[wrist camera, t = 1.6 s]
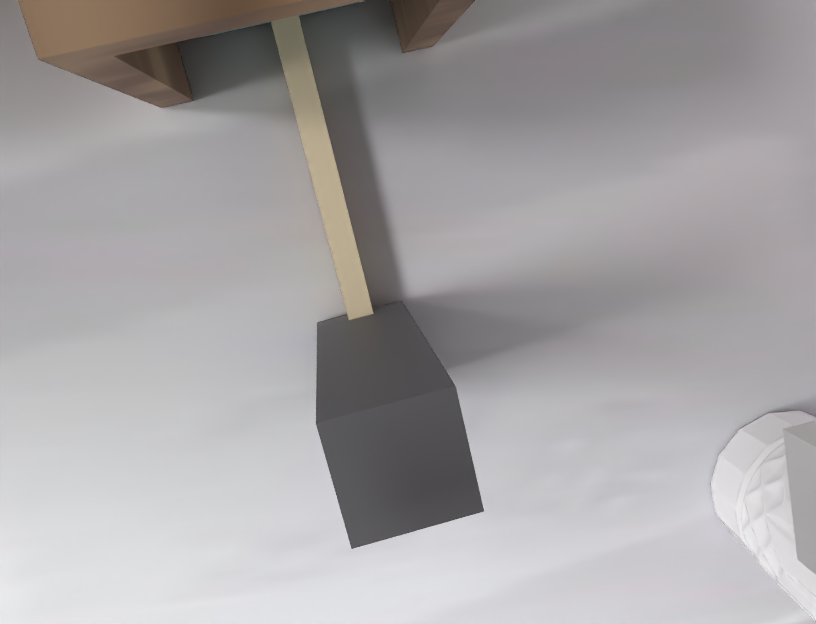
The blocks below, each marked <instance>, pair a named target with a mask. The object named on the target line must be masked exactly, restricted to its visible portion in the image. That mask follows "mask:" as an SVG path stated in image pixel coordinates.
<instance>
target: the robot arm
mask: <svg viewBox="0 0 816 624" xmlns="http://www.w3.org/2000/svg"><path fill="white" fill-rule="evenodd" d="M783 435H784V444H785V453H786V462H787V471H788V480H789V490H790V499H791V508H792V517H793V526H794V535H795V544H796V553H797V560H798V561H800V562H801V563H802V564H803V565H804V566H806V567H807V568H808V569H809V570H810V571H812V572H813V573H814V574H815V575H816V420H813V421H810V422H806V423H803V424H799V425H795V426H792V427H788V428H785V429H783Z"/></svg>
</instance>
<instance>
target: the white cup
mask: <svg viewBox="0 0 816 624" xmlns="http://www.w3.org/2000/svg"><path fill="white" fill-rule="evenodd" d="M813 420H816V417H814V416H812V415H809V414H807V413H805V412H802V411H799V410H797V411H786V412H775V413H768V414H766V415H764V416H762V417H760V418H758V419H757V420H755V421H753V422H751V423H750V424H748V425H746V426H744V427H742V428H741V429H739V430H738V432H737V433H736V434H735V435H734V437H733V438H732V439H731V440H730V442H729V443H728V444H727V445H726V447H725V448H724V449H723V450H722V452H721V453H720V454H719V456H718V460H717V463H716V467H715V470H714V474H713V477H712V481H711V491H712V497H713V503H714V508H715V513H716V515H717V516H718V517H719V519H720V520H721V521H722V522H723V523H724V525H725V526H726V527H727V528H728V529H729V531H730V532H731V533H732V534H733V535H734V536H735V537H736V538H737V539H738V540H739V541H740V542H741V543H742V544H743V545H744V546H745V547H746V548H747V549H748V550H749V551H750V552H751V553H752V554H753V556H754V558H755V560H756V561H757V562H758V563H759V564H760V565H761V566H762V567H763V568H764V569H765V570H766V571H767V572H768V573H769V574H770V575H771V576H772V577H773V579H774V580H775V581H776V582H777V583H778V584H779V585H780V586H781V587H782V589H783V590H784V591H785V592H786V593H787V594H788V595H789V596H790V597H791V598H792V599H793V600H794V601H795V602H796V603H797V604H798V605H799V606H800V607H801V608H802V609H803V610H804V611H805V612H806V613H807V614H808V615H809V616H810V617H811V618H812V619H813V620H814V621H815V622H816V575H815V574H814V573H813V572H812V571H810V570H809V569H808V568H807V567H806V566H804V565H803V564H802V563H801V562H800V561H798V560H797V553H796V544H795V535H794V526H793V517H792V508H791V499H790V490H789V480H788V471H787V462H786V453H785V444H784V435H783V429H785V428H788V427H792V426H795V425H799V424H803V423H806V422H810V421H813Z"/></svg>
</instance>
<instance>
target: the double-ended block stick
mask: <svg viewBox="0 0 816 624" xmlns="http://www.w3.org/2000/svg"><path fill="white" fill-rule="evenodd" d="M360 2H364V1H360ZM356 3H359V2H356ZM351 4H355V3H351ZM347 5H350V4H347ZM342 6H346V5H342ZM338 7H341V6H338ZM333 8H337V7H333ZM329 9H332V8H329ZM324 10H327V9H324ZM320 11H323V10H320ZM315 12H318V11H315ZM310 13H314V12H310ZM306 14H309V13H306ZM301 15H305V14H301ZM299 16H300V15H297V16H292V17H288V18H283V19H279V20H274V21H270V22H271V25H272V29H273V33H274V36H275V40H276V44H277V48H278V52H279V56H280V59H281V63H282V67H283V71H284V75H285V79H286V82H287V86H288V90H289V94H290V98H291V101H292V105H293V109H294V113H295V117H296V121H297V124H298V128H299V132H300V136H301V140H302V144H303V147H304V151H305V155H306V159H307V163H308V166H309V170H310V174H311V178H312V182H313V186H314V189H315V193H316V197H317V201H318V205H319V209H320V212H321V216H322V220H323V224H324V228H325V231H326V235H327V239H328V243H329V247H330V251H331V254H332V258H333V262H334V266H335V270H336V274H337V277H338V281H339V285H340V289H341V293H342V296H343V300H344V304H345V308H346V312H347V315H345V316H341V317H337V318H333V319H329V320H325V321H321V322H318V323H317V387H316V425H317V428H318V432H319V435H320V439H321V443H322V446H323V450H324V453H325V457H326V460H327V464H328V467H329V471H330V474H331V478H332V481H333V485H334V488H335V492H336V495H337V499H338V502H339V506H340V509H341V513H342V516H343V520H344V523H345V527H346V531H347V534H348V538H349V541H350V545H351V548H352V549H353V548H356V547H360V546H363V545H367V544H370V543H374V542H378V541H381V540H385V539H388V538H392V537H395V536H399V535H402V534H406V533H409V532H413V531H416V530H420V529H423V528H427V527H430V526H434V525H437V524H441V523H444V522H448V521H451V520H455V519H459V518H462V517H466V516H469V515H473V514H476V513H480V512H483V511H484V509H483V505H482V500H481V496H480V492H479V487H478V483H477V479H476V474H475V470H474V465H473V461H472V457H471V452H470V448H469V443H468V439H467V435H466V430H465V426H464V422H463V417H462V413H461V408H460V404H459V400H458V395H457V391H456V386H455V385H454V383H453V381H452V380H451V378H450V377H449V375H448V373H447V372H446V370H445V369H444V367H443V366H442V364H441V362H440V361H439V359H438V358H437V356H436V354H435V353H434V351H433V350H432V348H431V347H430V345H429V343H428V342H427V340H426V339H425V337H424V335H423V334H422V332H421V331H420V329H419V327H418V326H417V324H416V323H415V321H414V320H413V318H412V316H411V315H410V313H409V312H408V310H407V308H406V307H405V305H404V304H403V302H402V301H399V302H395V303H392V304H388V305H384V306H380V307H376V308H372V305H371V301H370V297H369V293H368V289H367V285H366V281H365V277H364V273H363V269H362V265H361V261H360V257H359V253H358V249H357V245H356V241H355V237H354V233H353V230H352V226H351V222H350V218H349V214H348V210H347V206H346V202H345V198H344V194H343V190H342V186H341V182H340V178H339V174H338V170H337V166H336V162H335V158H334V154H333V150H332V146H331V142H330V138H329V134H328V130H327V126H326V122H325V118H324V114H323V110H322V106H321V102H320V98H319V94H318V91H317V87H316V83H315V79H314V75H313V71H312V67H311V63H310V59H309V55H308V51H307V47H306V43H305V39H304V35H303V31H302V27H301V23H300V19H299ZM265 23H269V22H265ZM261 24H264V23H261ZM256 25H260V24H256ZM252 26H255V25H252ZM247 27H251V26H247ZM243 28H246V27H243ZM238 29H241V28H238ZM234 30H237V29H234ZM229 31H232V30H229ZM224 32H228V31H224ZM220 33H223V32H220ZM215 34H219V33H215ZM211 35H214V34H211ZM206 36H210V35H206ZM203 37H205V36H203Z"/></svg>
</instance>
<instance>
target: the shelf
mask: <svg viewBox="0 0 816 624" xmlns="http://www.w3.org/2000/svg"><path fill="white" fill-rule="evenodd" d="M360 1H365V0H18V2H19V5H20V8H21V11H22V14H23V17H24V20H25V23H26V26H27V29H28V32H29V34H30V37H31V40H32V43H33V46H34V49H35V52H36V55H37V58H38V59H39V60H41V61H44V62H46V63H49V64H51V65H54V66H56V67H59V68H61V69H64V70H67V71H69V72H72V73H74V74H77V75H79V76H82V77H84V78H87V79H89V80H92V81H94V82H97V83H99V84H102V85H105V86H107V87H110V88H112V89H115V90H117V91H120V92H122V93H125V94H127V95H130V96H132V97H135V98H138V99H140V100H143V101H145V102H148V103H150V104H153V105H155V106H158V107H160V108H164V107H168V106H172V105H177V104H181V103H186V102H190V101H194V100H193V96H192V93H191V90H190V86H189V83H188V79H187V76H186V73H185V69H184V66H183V62H182V59H181V56H180V52H179V49H178V45H177V42H179V41H184V40H188V39H193V38H197V37H202V36H206V35H211V34H215V33H220V32H224V31H229V30H234V29H238V28H243V27H247V26H252V25H256V24H261V23H265V22H270V21H274V20H279V19H283V18H288V17H292V16H297V15H301V14H306V13H310V12H315V11H320V10H324V9H329V8H333V7H338V6H342V5H347V4H351V3H356V2H360ZM474 1H475V0H391V4H392V8H393V13H394V17H395V22H396V27H397V31H398V36H399V40H400V45H401V49H402V53H405V52H409V51H414V50H418V49H423V48H427V47H431V46H433V45H434V44H435V43H436V42H437V41H438V40H439V39H440V38H441V37H442V36H443V34H444V33H445V32H446V31H447V30H448V29H449V28H450V27H451V26H452V25H453V24H454V23H455V21H456V20H457V19H458V18H459V17H460V16H461V15H462V14H463V13H464V12H465V11H466V9H467V8H468V7H469V6H470V5H471V4H472V3H473V2H474Z"/></svg>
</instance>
